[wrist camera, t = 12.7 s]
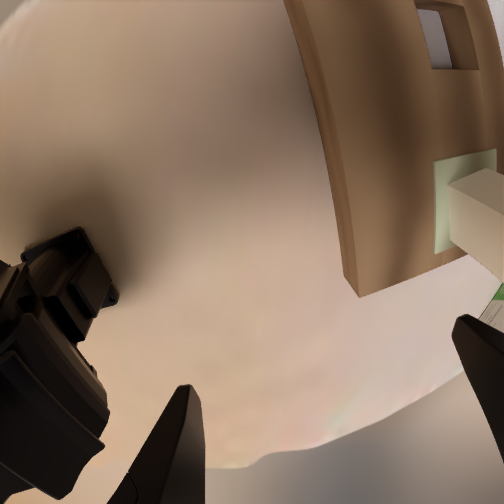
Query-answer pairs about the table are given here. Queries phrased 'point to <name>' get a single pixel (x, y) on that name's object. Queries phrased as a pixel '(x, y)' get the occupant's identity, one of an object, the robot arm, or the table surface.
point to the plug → (479, 218)
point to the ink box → (495, 311)
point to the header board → (399, 125)
